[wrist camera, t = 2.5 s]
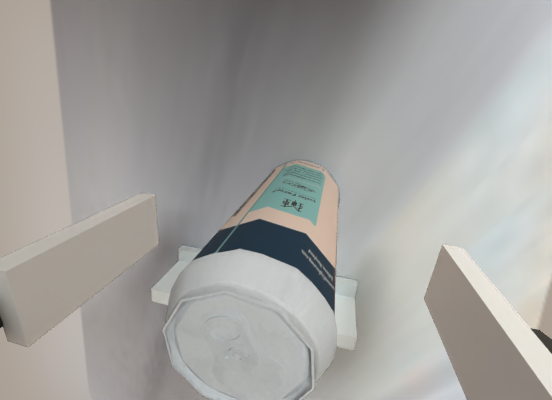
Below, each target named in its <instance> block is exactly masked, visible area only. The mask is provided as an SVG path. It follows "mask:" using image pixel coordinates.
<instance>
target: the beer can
mask: <svg viewBox="0 0 552 400" xmlns="http://www.w3.org/2000/svg"><path fill="white" fill-rule="evenodd" d="M339 202H340V193H339V188H338V185H337V183H336V181H335V179H334V178H333V177H332V175H331V174H330V173H329V172H328V171H327V170H326V169H325V168H324V167H322V166H320V165H319V164H316V163H313V162H310V161H306V160H294V161H289V162H286V163H284V164H282V165H280V166H278V167H276V168H275V169H274V170H273V171H272V172H271V173H270V175H269V176H268V177H267V178H266V179H265V180H264V182H263V183H262V184H261V185H260V186H259V187H258V188H257V189H256V190H255V192H254V193H253V194H252V195H251V196H250V197H249V198H248V199H247V200H246V202H245V203H244V204H243V205H242V206H241V207H240V208H239V209H238V210H237V211H236V213H235V214H234V215H233V216H232V217H231V218H230V219H229V220H228V221H227V223H226V224H225V225H224V226H223V227H222V228H221V229H220V230H219V231H218V233H217V234H216V235H215V236H214V237H213V238H212V239H211V240H210V241H209V242H208V244H207V245H206V246H205V247H204V248H203V249H202V250H201V251H200V252H199V254H198V255H197V256H196V257H195V258H194V259H193V260H192V261H191V262H190V263H189V264H188V265H187V266H186V267H185V268H184V269H183V270H182V271H181V272H180V273H179V275H178V277H177V279H176V281H175V283H174V285H173V287H172V289H171V292H170V297H169V301H168V308H167V315H166V324H165V326H164V328H163V329H162V330H163V334H164V338H165V342H166V346H167V349H168V353H169V357H170V361H171V365H172V366H173V367H174V368H175V369H176V370H177V371H178V372H179V373H180V374H181V375H182V376H183V377H184V378H185V379H186V380H187V381H188V382H189V383H190V384H191V385H192V386H193V387H194V388H195V389H196V390H197V391H198V392H199V393H200V394H201V395H202V396H203V397H205V398H208V399H210V400H302V399H303V398H305V397H306V396H307V395H308V394H309V393H311V392H312V391H313V390H314V389H315V383H316V382H317V381H318V380H319V379H320V377H321V376H322V374H323V373H324V372H325V371H326V370H327V368H328V367H329V365H330V364H331V362H332V360H333V358H334V355H335V352H336V348H337V326H336V321H335V287H336V255H337V224H338V207H339Z"/></svg>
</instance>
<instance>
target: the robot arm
mask: <svg viewBox="0 0 552 400" xmlns="http://www.w3.org/2000/svg"><path fill="white" fill-rule="evenodd" d="M157 245H159V240H158V225H157V210H156V195H152V194H146V193H140V194H138V195H136V196H133V197H131V198H129V199H127V200H125V201H123V202H120V203H118V204H116V205H114V206H112V207H110V208H107V209H105V210H103V211H101V212H99V213H97V214H94V215H92V216H90V217H88V218H86V219H84V220H81V221H79V222H77V223H75V224H73V225H71V226H68V227H66V228H64V229H62V230H60V231H58V232H55V233H53V234H51V235H49V236H47V237H45V238H43V239H40V240H38V241H36V242H34V243H31V244H29V245H27V246H25V247H23V248H21V249H18V250H16V251H14V252H12V253H10V254H8V255H6V256H3V257H1V258H0V328H1V327H2V326H3V328H4V331H5V334H6V337H7V340H8V341H9V342H12V343H16V344H19V345H22V346H25V347H29V346H30V345H32V344H33V343H34V342H36V341H37V340H38V339H39V338H41V337H42V336H43V335H44V334H46V333H47V332H48V331H49V330H51V329H52V328H53V327H54V326H56V325H57V324H58V323H60V322H61V321H62V320H63V319H65V318H66V317H67V316H68V315H70V314H71V313H72V312H74V311H75V310H76V309H77V308H79V307H80V306H81V305H82V304H84V303H85V302H86V301H88V300H89V299H90V298H91V297H93V296H94V295H95V294H96V293H98V292H99V291H100V290H101V289H103V288H104V287H105V286H107V285H108V284H109V283H110V282H112V281H113V280H114V279H115V278H117V277H118V276H119V275H120V274H122V273H123V272H124V271H126V270H127V269H128V268H129V267H131V266H132V265H133V264H134V263H136V262H137V261H138V260H140V259H141V258H142V257H143V256H145V255H146V254H147V253H148V252H150V251H151V250H152V249H153V248H155V247H156V246H157ZM424 300H425V302H426V305H427V307H428V309H429V312H430V314H431V316H432V319H433V321H434V323H435V326H436V328H437V330H438V333H439V335H440V337H441V340H442V342H443V344H444V347H445V349H446V352H447V354H448V356H449V359H450V361H451V363H452V366H453V368H454V370H455V373H456V375H457V377H458V380H459V382H460V384H461V387H462V389H463V391H464V394H465V396H466V399H467V400H552V339H550V338H549V337H548V336H546V335H545V334H544V333H543V332H541V331H540V330H536V329H532V328H529V326H528V325H527V324H526V323H525V322H524V320H523V319H522V318H521V317H520V316H519V314H518V313H517V312H516V311H515V310H514V308H513V307H512V306H511V305H510V304H509V303H508V301H507V300H506V299H505V298H504V297H503V295H502V294H501V293H500V292H499V291H498V289H497V288H496V287H495V286H494V285H493V283H492V282H491V281H490V280H489V279H488V277H487V276H486V275H485V274H484V273H483V271H482V270H481V269H480V268H479V267H478V266H477V264H476V263H475V262H474V261H473V260H472V258H471V257H470V256H469V255H468V254H467V252H466V251H465V250H464V249H463V248H460V247H454V246H449V245H442V248H441V250H440V253H439V256H438V259H437V262H436V265H435V268H434V271H433V274H432V277H431V279H430V282H429V285H428V288H427V291H426V294H425V297H424Z"/></svg>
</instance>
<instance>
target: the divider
mask: <svg viewBox="0 0 552 400" xmlns="http://www.w3.org/2000/svg"><path fill="white" fill-rule="evenodd" d="M178 250H179V261H178V262H177V263H176V264H175V265H174V266H173V267H172V268H171V269H170V270H169V271H168V272H167V273H166V274H165V275H164V276H163V277H162V278H161V279H160V280H159V281H158V282H157V283H156V284H155V285H154V286H153V287H152V288H151V296H152V302H156V303H160V304H164V305H168V301H169V297H170V292H171V289H172V287H173V285H174V283H175V281H176V279H177V277H178V275H179V273H180V272H181V271H182V270H183V269H184V268H185V267H186V266H187V265H188V264H189V263H190V262H191V261H192V260H193V259H194V258H195V257H196V256H197V255H198V254H199V252H200V251H201V250H202V249H200V248H195V247H190V246H185V245H182V246H181V247H180V248H179V249H178ZM356 290H357V280H352V279H347V278H342V277H337V276H336V287H335V321H336V326H337V347H339V348H343V349H347V350H352V351H354V348H355V344H356V341H357V329H356V313H355V294H356Z"/></svg>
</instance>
